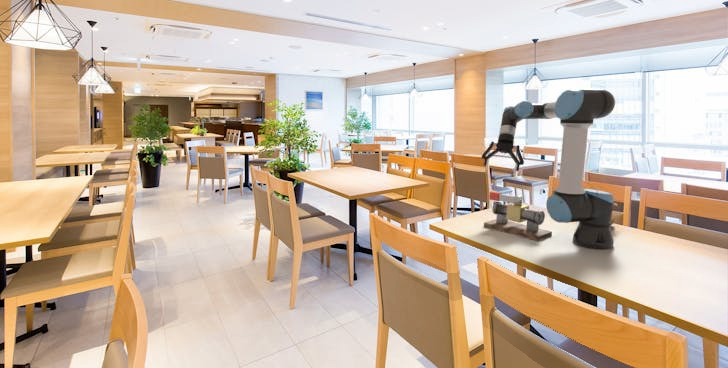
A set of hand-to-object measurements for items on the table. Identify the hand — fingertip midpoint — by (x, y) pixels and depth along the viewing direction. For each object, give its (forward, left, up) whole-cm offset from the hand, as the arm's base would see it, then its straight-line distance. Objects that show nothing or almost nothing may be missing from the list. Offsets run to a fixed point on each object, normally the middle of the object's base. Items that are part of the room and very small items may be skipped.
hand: (499, 174), depth 194 cm
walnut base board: (-13, +4, -25) cm, 29 cm away
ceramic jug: (-31, -36, -26) cm, 54 cm away
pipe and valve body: (-13, +4, -23) cm, 27 cm away
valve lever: (-7, +4, -13) cm, 15 cm away
